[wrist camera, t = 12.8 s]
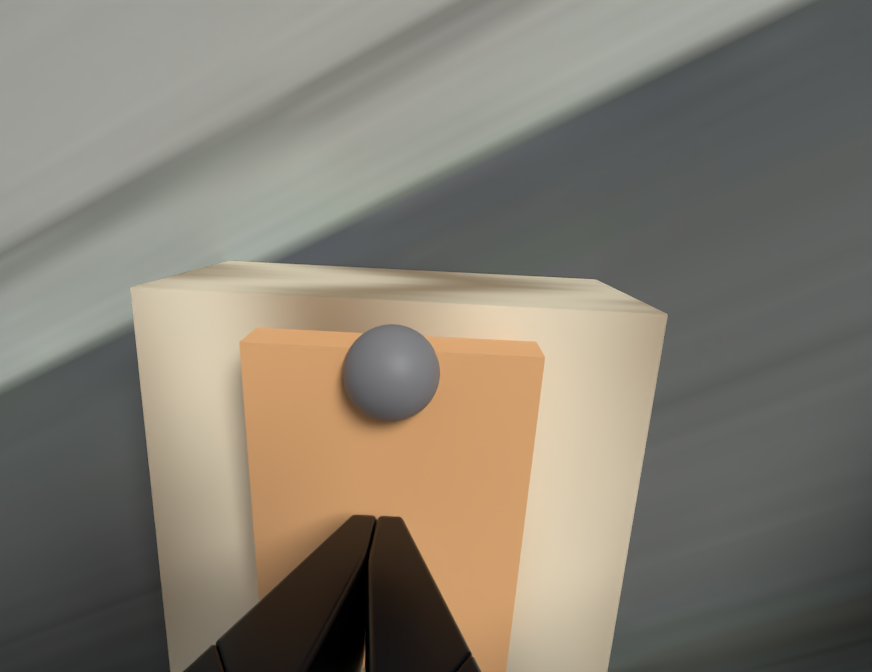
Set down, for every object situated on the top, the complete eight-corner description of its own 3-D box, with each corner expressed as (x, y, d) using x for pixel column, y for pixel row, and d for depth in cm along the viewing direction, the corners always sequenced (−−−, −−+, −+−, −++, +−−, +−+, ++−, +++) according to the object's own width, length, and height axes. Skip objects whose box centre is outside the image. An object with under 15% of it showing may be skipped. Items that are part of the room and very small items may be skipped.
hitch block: (595, 279, 14) (667, 314, 9) (536, 730, 18) (568, 901, 13) (228, 260, 14) (130, 287, 9) (253, 717, 18) (192, 884, 13)
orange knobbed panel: (501, 639, 11) (511, 713, 10) (275, 629, 11) (249, 701, 10) (538, 320, 9) (559, 351, 7) (254, 305, 9) (216, 333, 7)
